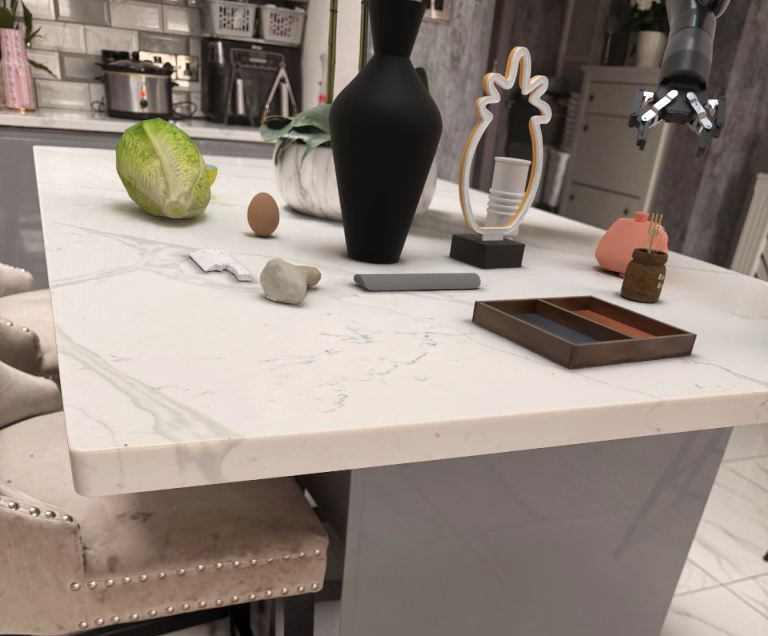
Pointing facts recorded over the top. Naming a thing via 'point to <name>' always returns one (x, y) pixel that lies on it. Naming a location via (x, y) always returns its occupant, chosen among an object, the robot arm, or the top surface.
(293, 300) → the stone
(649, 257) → the utensil holder
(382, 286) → the half round rod
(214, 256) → the white flat piece
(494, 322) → the sorting tray
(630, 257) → the pink rounded pot
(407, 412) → the top surface
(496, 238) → the lamp
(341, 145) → the vase
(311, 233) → the top surface
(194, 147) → the lettuce
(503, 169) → the white ribbed cup
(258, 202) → the egg
